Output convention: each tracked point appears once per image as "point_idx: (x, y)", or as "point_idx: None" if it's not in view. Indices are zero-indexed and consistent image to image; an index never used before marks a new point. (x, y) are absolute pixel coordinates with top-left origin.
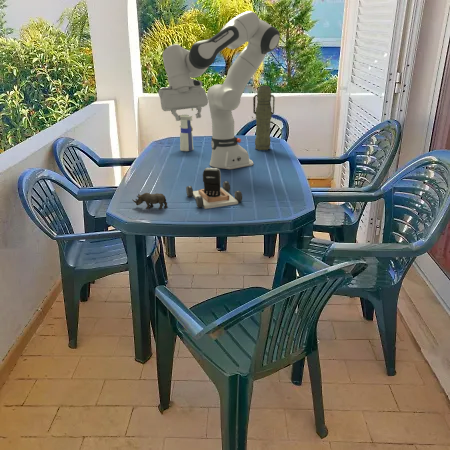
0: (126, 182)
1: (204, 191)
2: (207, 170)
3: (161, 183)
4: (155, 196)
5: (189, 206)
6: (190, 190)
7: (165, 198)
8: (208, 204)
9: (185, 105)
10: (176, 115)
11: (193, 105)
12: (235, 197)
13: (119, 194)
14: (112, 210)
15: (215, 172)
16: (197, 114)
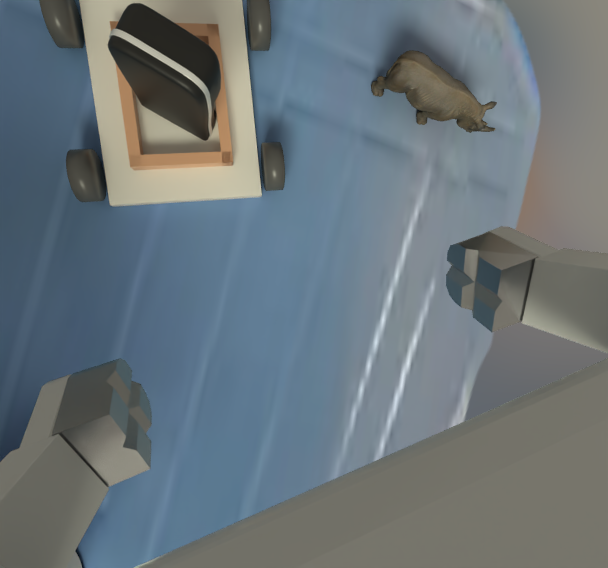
0: (463, 402)
1: (214, 116)
2: (193, 37)
3: (347, 361)
4: (435, 64)
5: (293, 61)
6: (273, 142)
7: (391, 70)
8: (222, 9)
9: (515, 437)
10: (567, 249)
11: (174, 557)
12: (78, 36)
13: None
14: (536, 128)
15: (147, 6)
16: (115, 394)
